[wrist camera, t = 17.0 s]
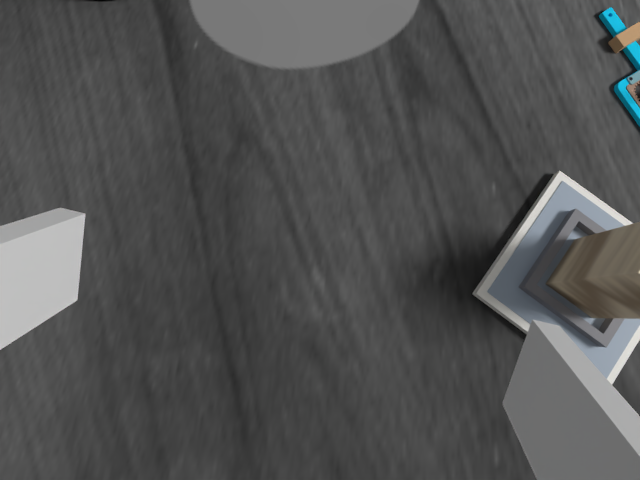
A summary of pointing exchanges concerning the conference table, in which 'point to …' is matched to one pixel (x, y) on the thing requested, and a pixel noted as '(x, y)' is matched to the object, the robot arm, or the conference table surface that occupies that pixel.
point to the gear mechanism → (633, 51)
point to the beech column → (602, 273)
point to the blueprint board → (538, 265)
